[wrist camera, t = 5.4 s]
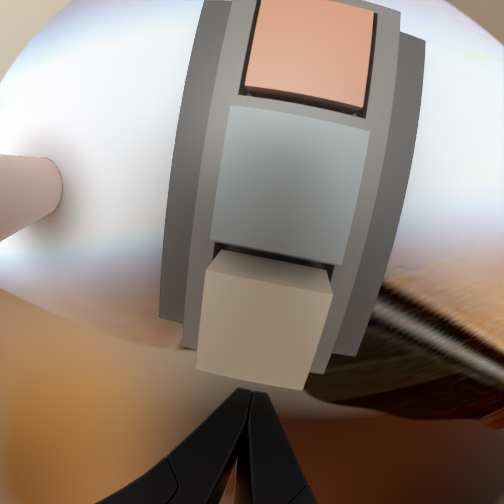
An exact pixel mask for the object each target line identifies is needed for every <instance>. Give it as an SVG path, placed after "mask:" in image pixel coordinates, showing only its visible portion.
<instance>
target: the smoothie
mask: <svg viewBox="0 0 504 504" xmlns="http://www.w3.org/2000/svg"><path fill="white" fill-rule="evenodd" d="M61 196H62V179H61V175H60V172H59V170H58V168H57V166H56V165H55V164H54V163H53V162H52V161H51V160H49V159H46V158H37V157H25V156H13V155H0V242H1V241H2V240H4V239H6V238H7V237H9V236H11V235H12V234H14V233H16V232H18V231H19V230H21V229H23V228H25V227H26V226H28V225H30V224H32V223H34V222H36V221H37V220H39V219H41V218H43V217H45V216H47V215H49V214H50V213H52V212H53V211H54V210H55V209H56V208H57V206H58V205H59V202H60V200H61Z"/></svg>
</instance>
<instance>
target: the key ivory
mask: <svg viewBox="0 0 504 504" xmlns="http://www.w3.org/2000/svg"><path fill="white" fill-rule="evenodd" d="M332 298H333V292H332V289H331V285H330V282H329V278H328V275H327V271H326V270H324V269H319V268H314V267H309V266H303V265H298V264H293V263H288V262H283V261H278V260H273V259H268V258H262V257H257V256H252V255H247V254H242V253H237V252H232V251H227V250H222V249H221V251H220V252H219V253H218V254H217V256H216V257H215V258H214V260H213V261H212V262H211V264H210V265H209V266H208V268H207V269H206V273H205V281H204V290H203V299H202V308H201V317H200V327H199V337H198V347H197V358H196V369H197V370H201V371H204V372H208V373H213V374H217V375H221V376H226V377H230V378H235V379H240V380H244V381H249V382H255V383H260V384H265V385H270V386H276V387H282V388H288V389H294V390H301V391H302V390H303V388H304V385H305V382H306V379H307V376H308V373H309V370H310V368H311V365H312V362H313V359H314V356H315V353H316V350H317V347H318V343H319V340H320V337H321V334H322V331H323V328H324V324H325V321H326V318H327V315H328V311H329V308H330V304H331V301H332Z"/></svg>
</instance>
